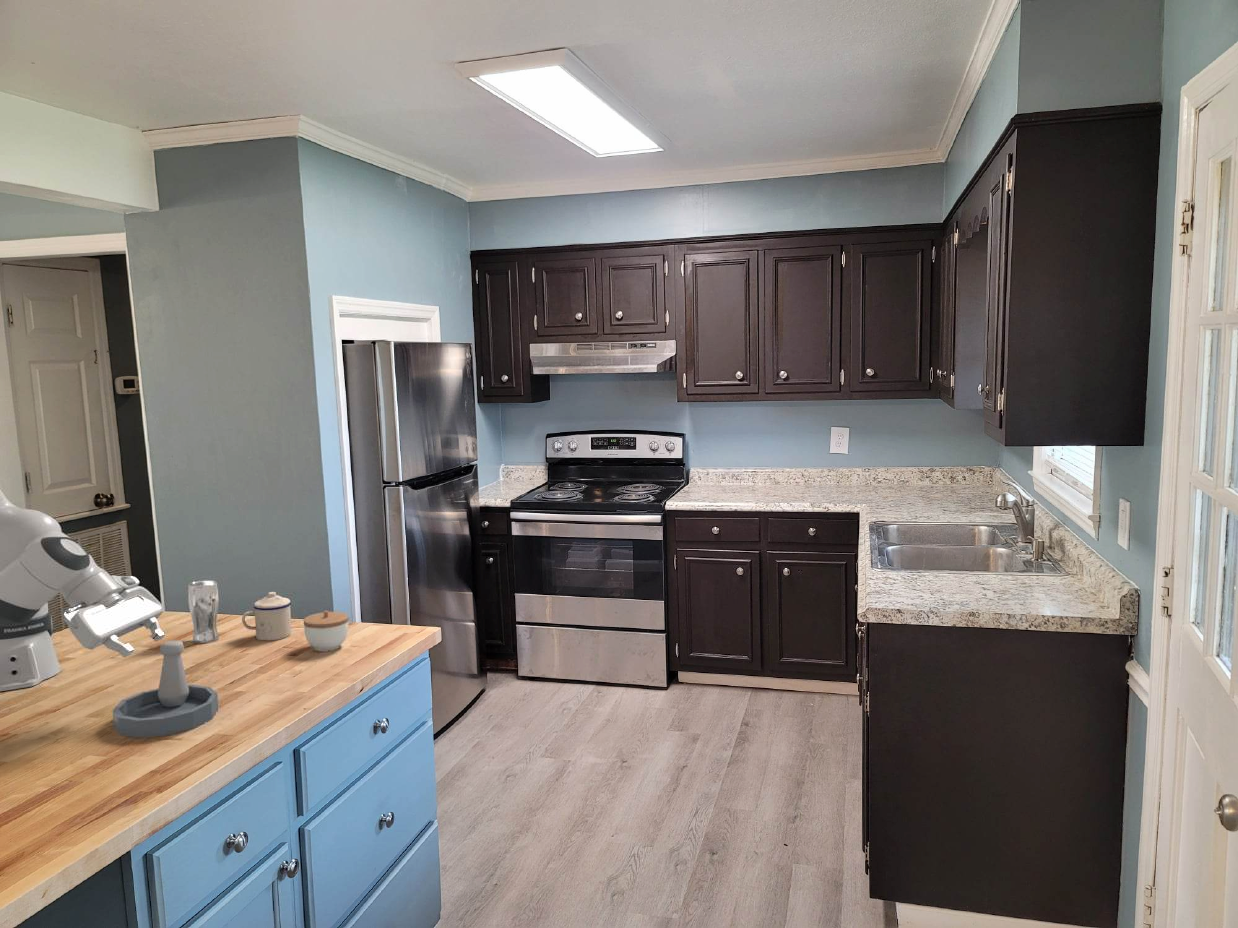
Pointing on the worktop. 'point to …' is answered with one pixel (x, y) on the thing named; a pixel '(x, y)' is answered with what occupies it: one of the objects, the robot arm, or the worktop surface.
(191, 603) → the beer glass
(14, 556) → the robot arm
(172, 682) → the salt shaker
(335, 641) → the lidded jar
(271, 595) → the teacup with lid
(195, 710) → the bowl
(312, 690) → the worktop surface
